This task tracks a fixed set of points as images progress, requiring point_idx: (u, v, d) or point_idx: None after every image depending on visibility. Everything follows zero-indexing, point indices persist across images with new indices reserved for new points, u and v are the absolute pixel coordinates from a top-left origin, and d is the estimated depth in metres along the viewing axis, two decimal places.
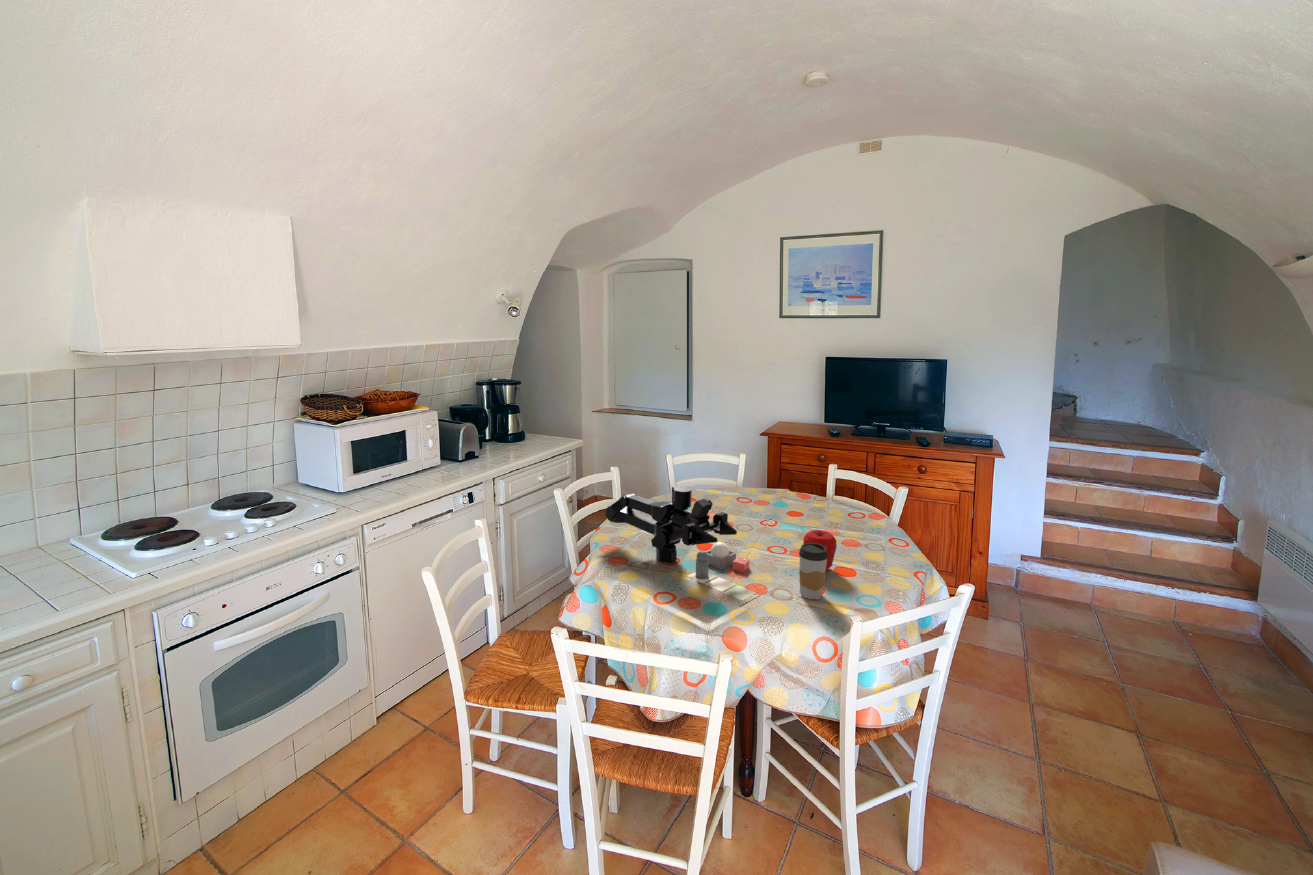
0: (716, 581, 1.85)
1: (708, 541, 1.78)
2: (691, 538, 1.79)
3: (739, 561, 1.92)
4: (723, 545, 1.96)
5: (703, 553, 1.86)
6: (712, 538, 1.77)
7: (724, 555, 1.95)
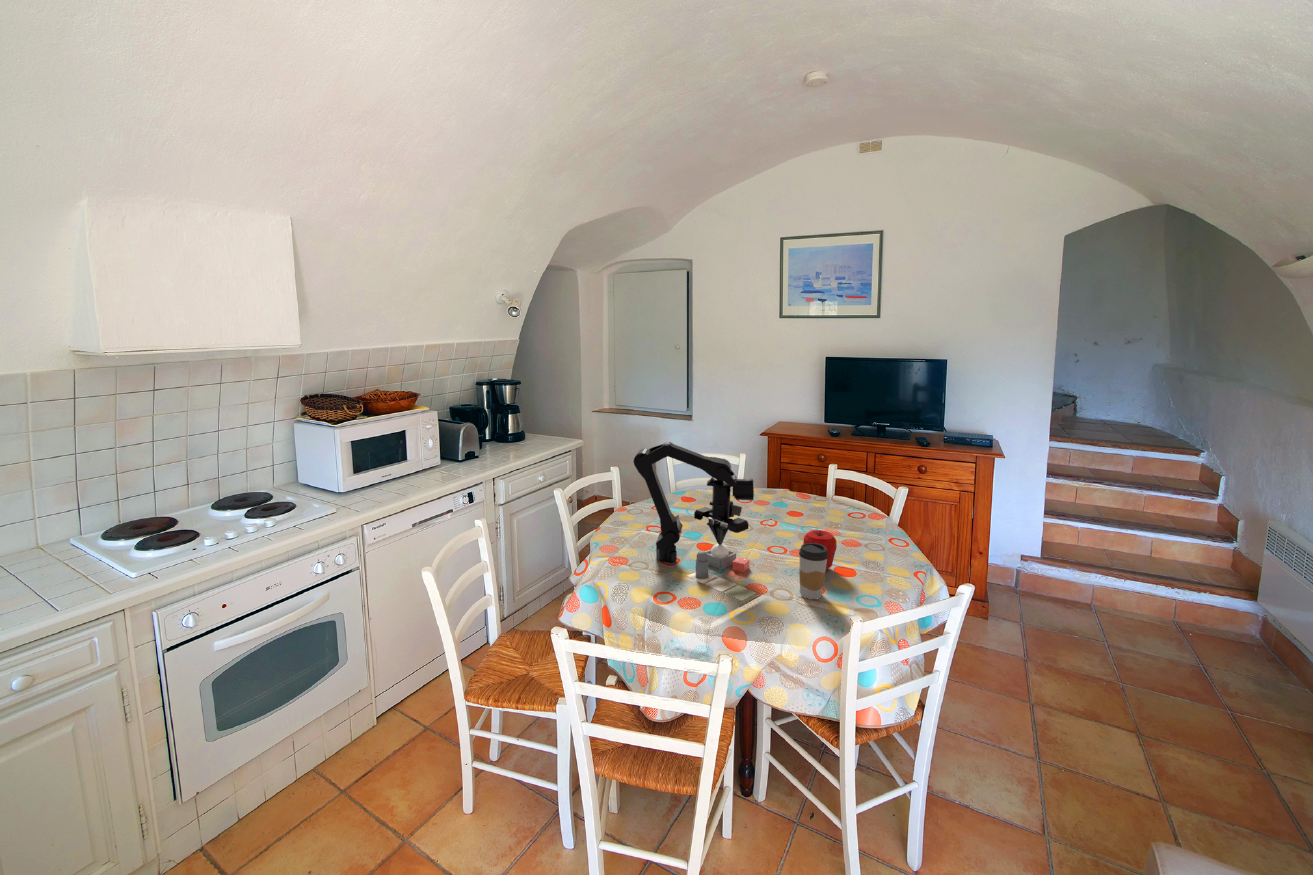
0: (716, 581, 1.85)
1: (720, 538, 1.95)
2: (727, 527, 1.92)
3: (739, 561, 1.92)
4: (723, 546, 1.96)
5: (703, 553, 1.86)
6: (722, 540, 1.96)
7: (724, 556, 1.95)
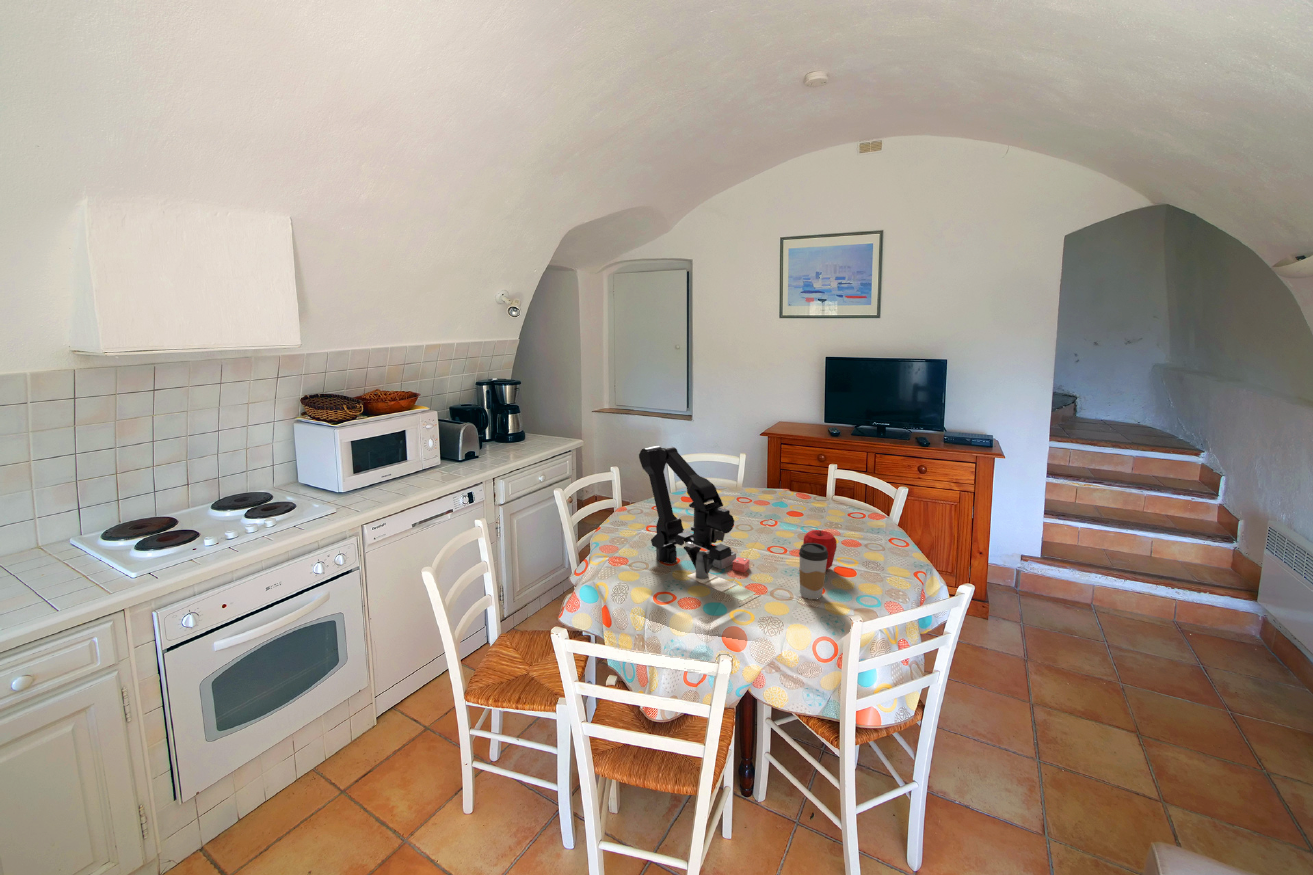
0: (716, 581, 1.85)
1: (707, 567, 1.85)
2: None
3: (739, 561, 1.92)
4: None
5: (703, 553, 1.86)
6: (709, 569, 1.86)
7: None
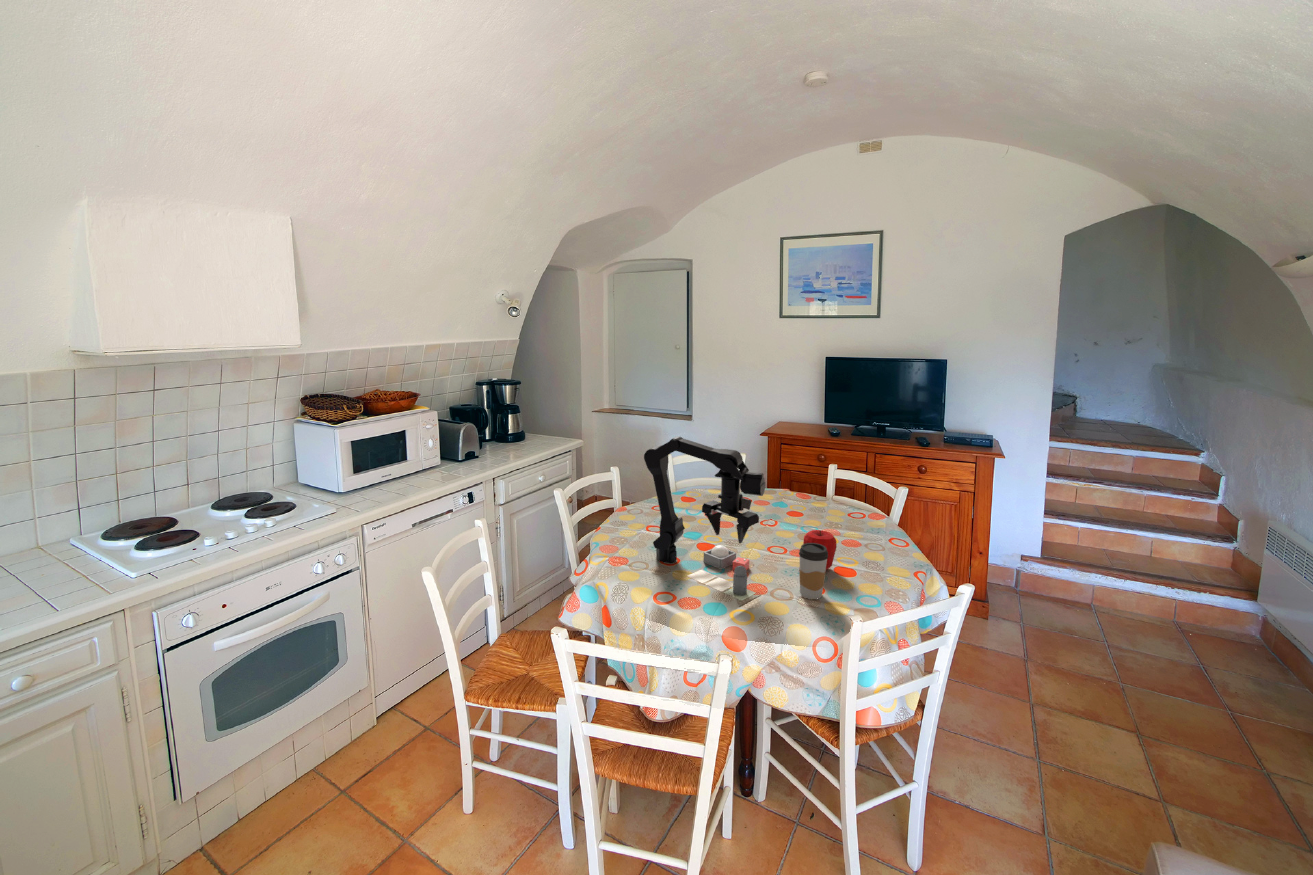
0: (716, 581, 1.85)
1: (741, 537, 1.85)
2: None
3: (739, 561, 1.92)
4: (723, 548, 1.96)
5: (741, 568, 1.75)
6: (742, 539, 1.86)
7: None
